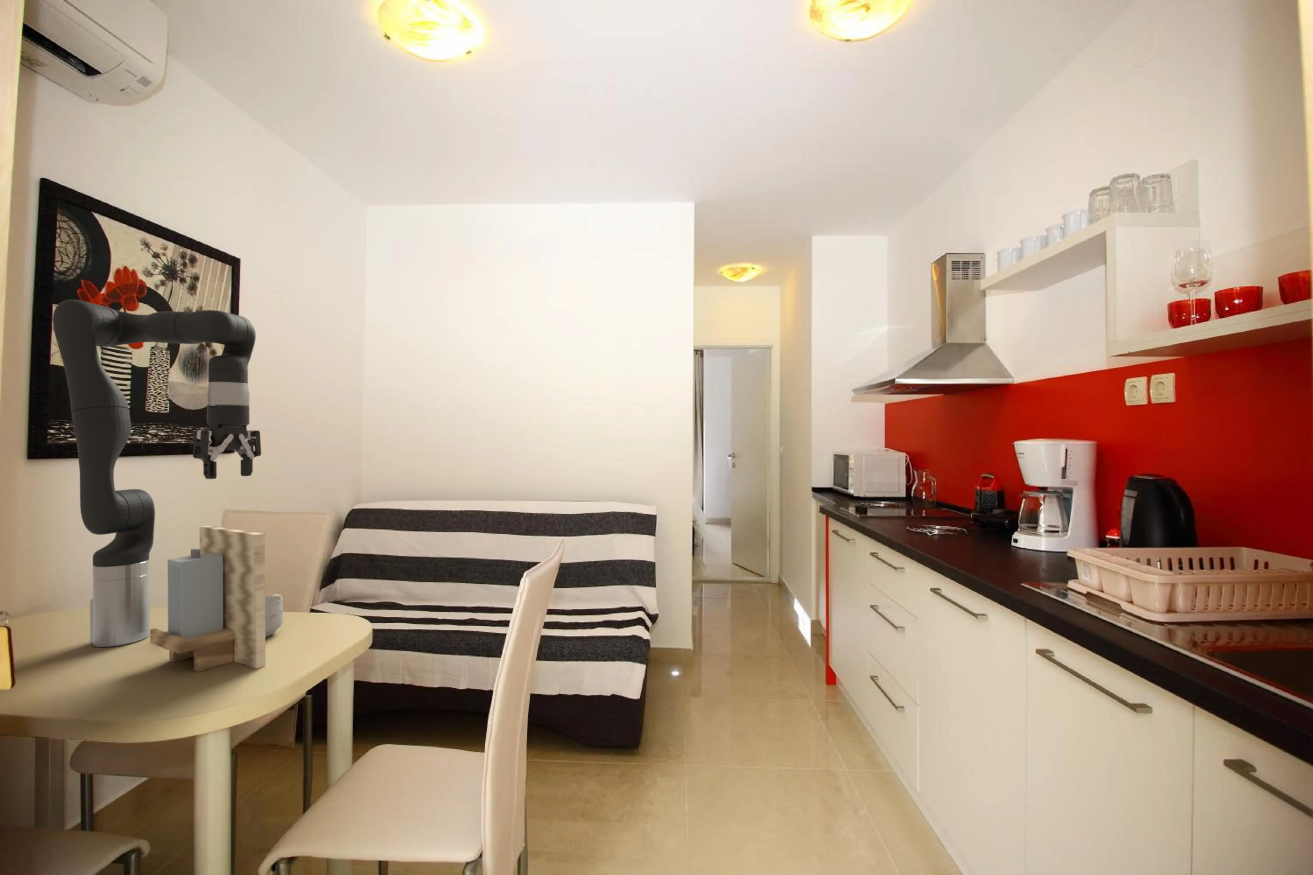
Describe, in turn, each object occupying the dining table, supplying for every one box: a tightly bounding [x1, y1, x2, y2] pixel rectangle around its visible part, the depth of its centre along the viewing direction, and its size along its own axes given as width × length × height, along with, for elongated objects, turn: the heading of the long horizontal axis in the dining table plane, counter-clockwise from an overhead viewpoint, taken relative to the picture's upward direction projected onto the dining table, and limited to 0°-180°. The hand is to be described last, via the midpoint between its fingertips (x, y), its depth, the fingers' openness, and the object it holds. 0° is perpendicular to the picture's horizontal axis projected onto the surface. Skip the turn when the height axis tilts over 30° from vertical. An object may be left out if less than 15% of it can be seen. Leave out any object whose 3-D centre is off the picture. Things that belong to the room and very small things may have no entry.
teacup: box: [265, 593, 284, 638], centre depth 133 cm, size 14×11×8 cm
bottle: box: [167, 548, 223, 640], centre depth 116 cm, size 6×7×17 cm
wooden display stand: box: [149, 525, 266, 673], centre depth 115 cm, size 22×11×26 cm, turn 61°
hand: (228, 477), depth 128 cm, fingers open, 8 cm apart
